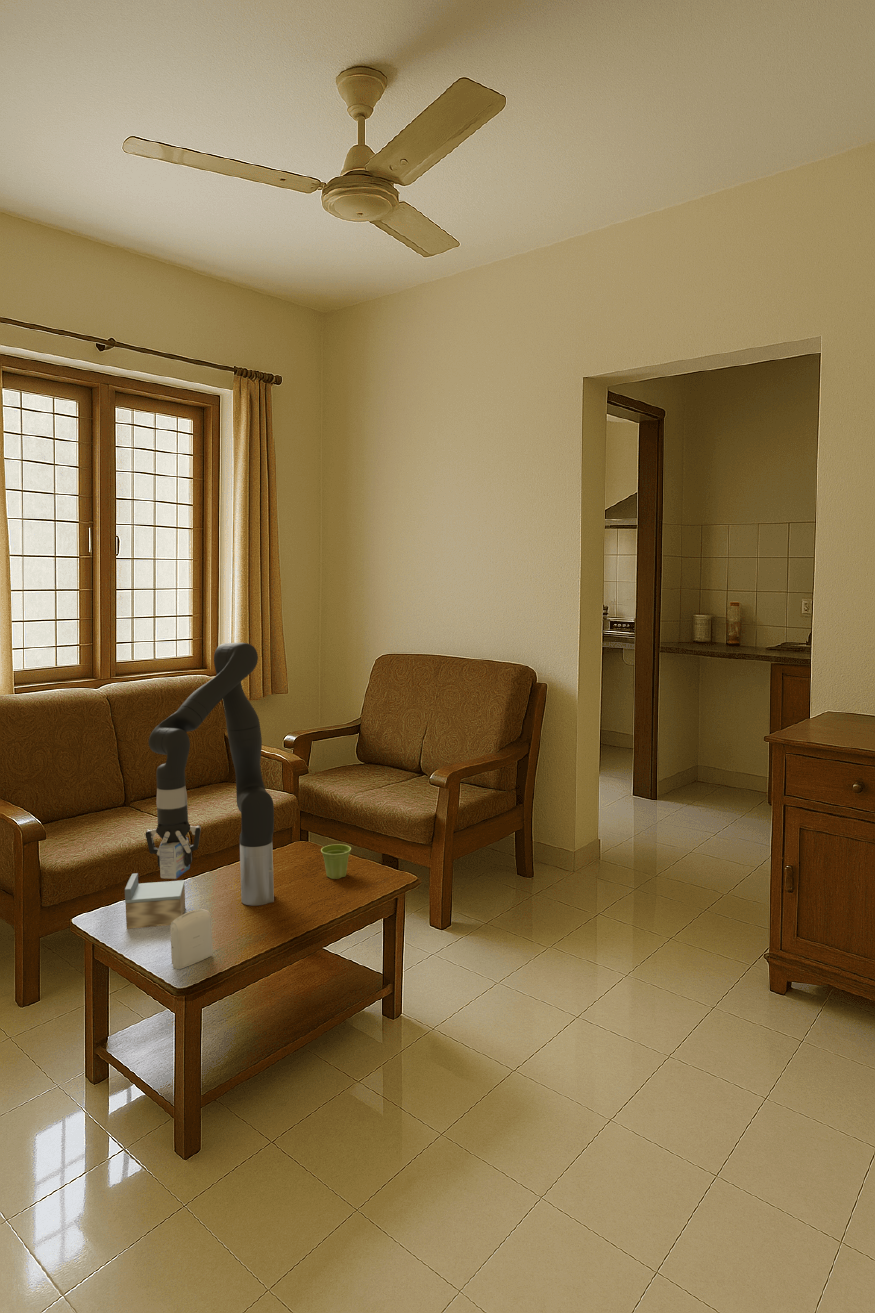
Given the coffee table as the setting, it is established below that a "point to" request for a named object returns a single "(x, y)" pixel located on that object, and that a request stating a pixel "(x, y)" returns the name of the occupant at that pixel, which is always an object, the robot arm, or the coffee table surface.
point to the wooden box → (154, 912)
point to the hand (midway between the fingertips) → (175, 866)
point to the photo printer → (191, 938)
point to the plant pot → (336, 860)
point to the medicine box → (172, 860)
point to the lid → (152, 890)
